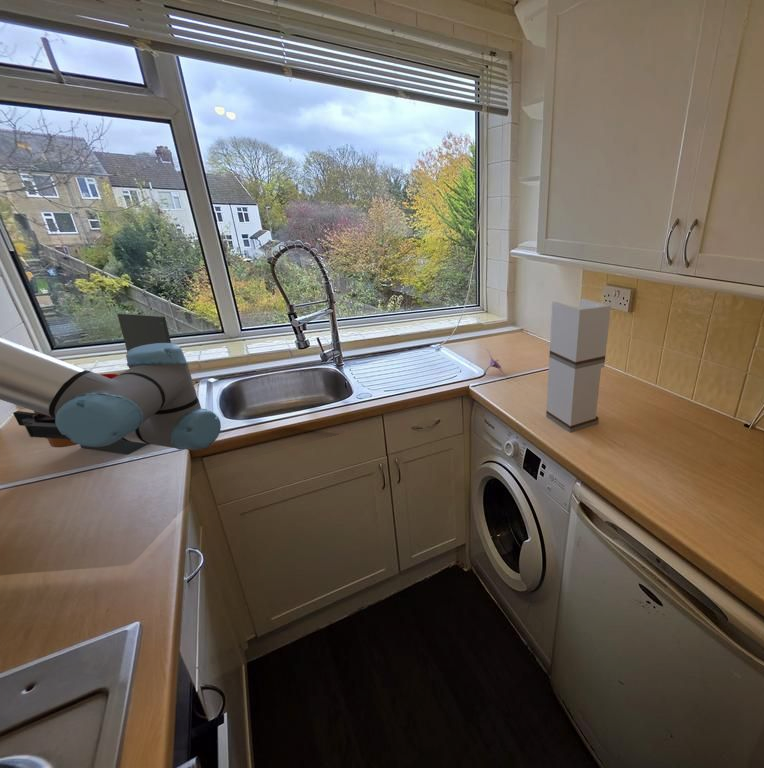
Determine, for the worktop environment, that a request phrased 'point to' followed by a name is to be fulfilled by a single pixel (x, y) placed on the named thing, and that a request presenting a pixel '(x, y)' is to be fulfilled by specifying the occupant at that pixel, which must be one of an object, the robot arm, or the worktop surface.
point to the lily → (494, 364)
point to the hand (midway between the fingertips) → (43, 409)
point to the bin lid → (143, 329)
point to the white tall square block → (576, 362)
